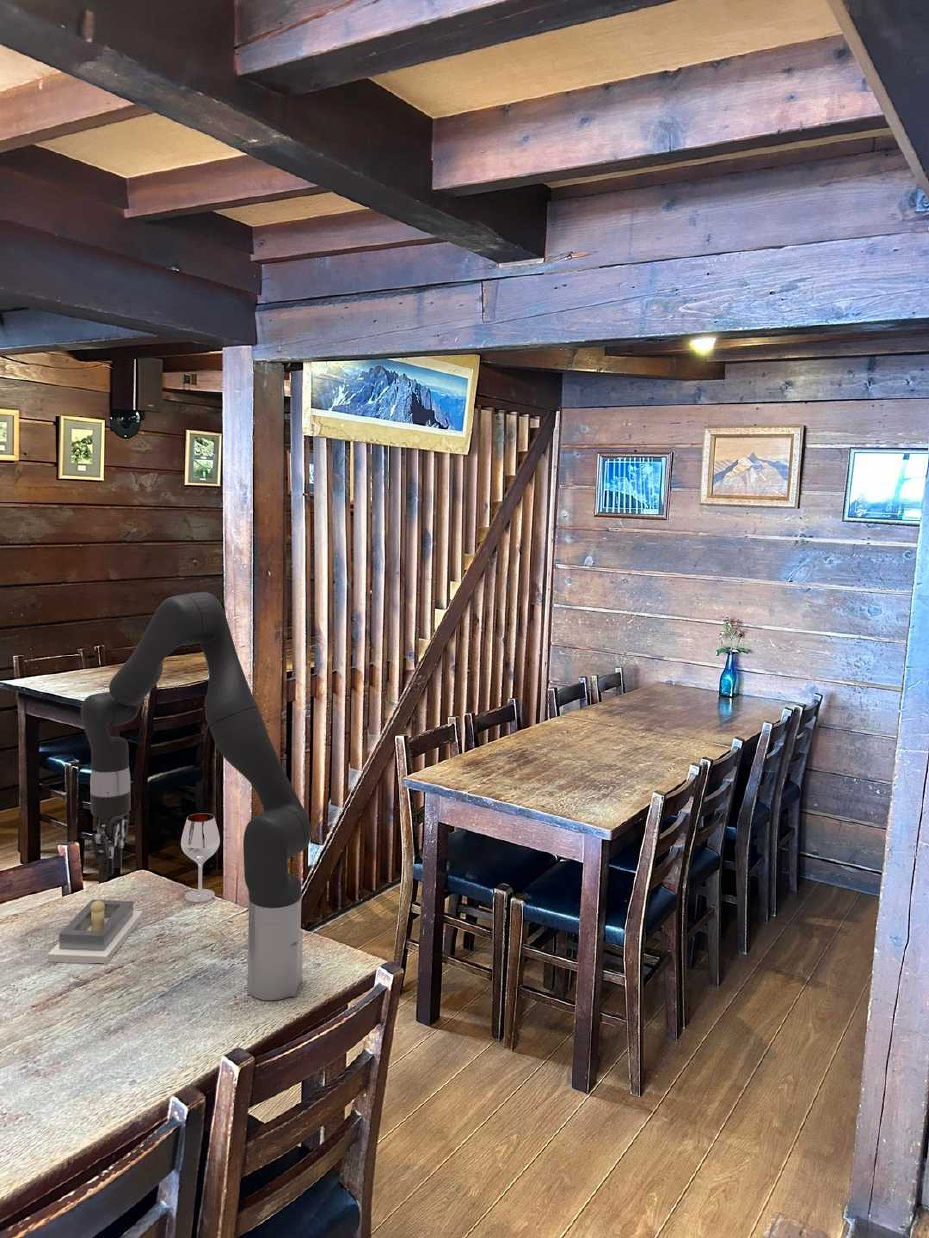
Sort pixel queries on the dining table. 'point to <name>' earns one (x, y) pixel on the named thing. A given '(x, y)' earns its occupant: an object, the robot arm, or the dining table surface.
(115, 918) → the grey rectangular frame
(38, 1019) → the dining table surface
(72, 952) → the board
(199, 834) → the wineglass
